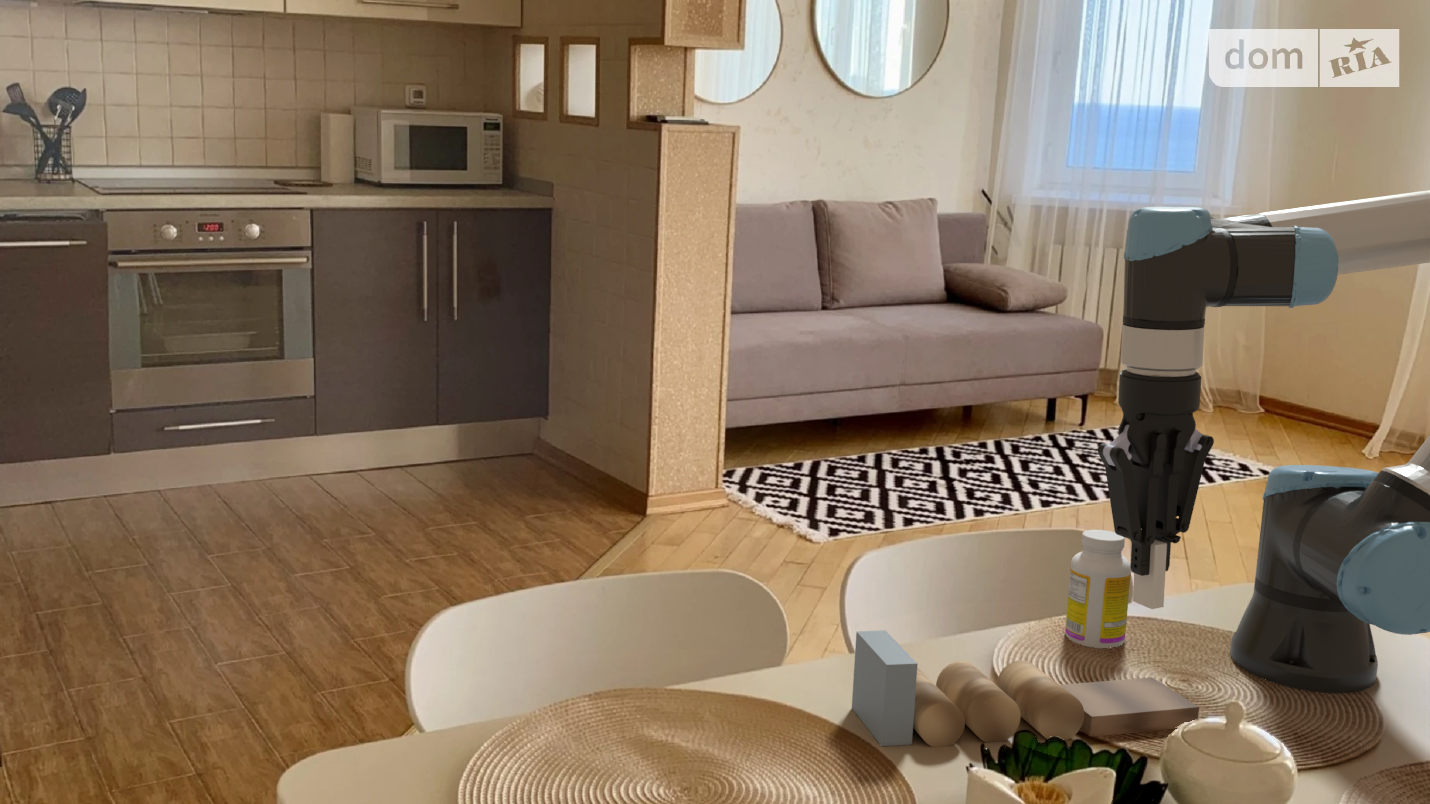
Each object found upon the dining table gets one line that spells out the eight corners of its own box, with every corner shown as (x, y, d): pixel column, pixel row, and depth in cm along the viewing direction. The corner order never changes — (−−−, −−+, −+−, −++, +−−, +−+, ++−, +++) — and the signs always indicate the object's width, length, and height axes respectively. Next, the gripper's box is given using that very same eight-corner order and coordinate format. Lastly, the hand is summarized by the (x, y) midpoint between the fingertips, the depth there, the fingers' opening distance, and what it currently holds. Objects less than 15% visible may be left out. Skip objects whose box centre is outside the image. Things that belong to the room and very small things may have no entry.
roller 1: (932, 692, 142) (894, 714, 141) (915, 656, 141) (877, 678, 140) (971, 733, 132) (931, 756, 132) (953, 695, 131) (913, 718, 131)
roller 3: (1046, 667, 143) (1028, 710, 143) (1007, 654, 141) (989, 698, 142) (1091, 701, 134) (1072, 747, 135) (1050, 688, 133) (1030, 734, 133)
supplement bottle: (1128, 639, 163) (1138, 532, 161) (1119, 657, 157) (1129, 546, 155) (1070, 629, 166) (1079, 523, 164) (1058, 646, 160) (1068, 537, 158)
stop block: (880, 706, 140) (885, 630, 139) (911, 744, 132) (917, 663, 130) (851, 708, 140) (856, 631, 138) (881, 746, 131) (886, 664, 130)
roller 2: (927, 681, 140) (964, 651, 141) (952, 715, 142) (988, 685, 142) (964, 717, 132) (1004, 685, 132) (990, 753, 133) (1029, 721, 134)
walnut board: (1149, 699, 146) (1152, 677, 146) (1196, 730, 139) (1199, 706, 139) (1047, 708, 143) (1049, 685, 143) (1089, 741, 136) (1092, 716, 135)
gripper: (1182, 358, 141) (1170, 584, 146) (1081, 368, 135) (1071, 603, 140) (1240, 369, 135) (1225, 605, 139) (1136, 380, 129) (1123, 625, 133)
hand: (1147, 603), depth 139 cm, fingers closed
